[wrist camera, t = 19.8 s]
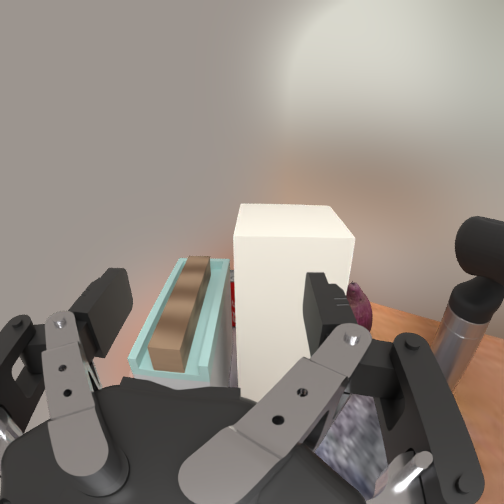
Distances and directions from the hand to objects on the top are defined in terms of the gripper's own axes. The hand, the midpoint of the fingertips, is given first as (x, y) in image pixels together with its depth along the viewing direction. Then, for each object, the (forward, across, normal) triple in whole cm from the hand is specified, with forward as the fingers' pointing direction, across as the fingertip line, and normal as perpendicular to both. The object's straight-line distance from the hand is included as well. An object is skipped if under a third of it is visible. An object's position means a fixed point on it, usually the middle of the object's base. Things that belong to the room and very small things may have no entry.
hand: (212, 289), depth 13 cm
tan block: (+21, +7, +18) cm, 28 cm away
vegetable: (+41, -24, +37) cm, 59 cm away
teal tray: (+23, +7, +19) cm, 30 cm away
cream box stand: (+21, -6, +36) cm, 42 cm away
